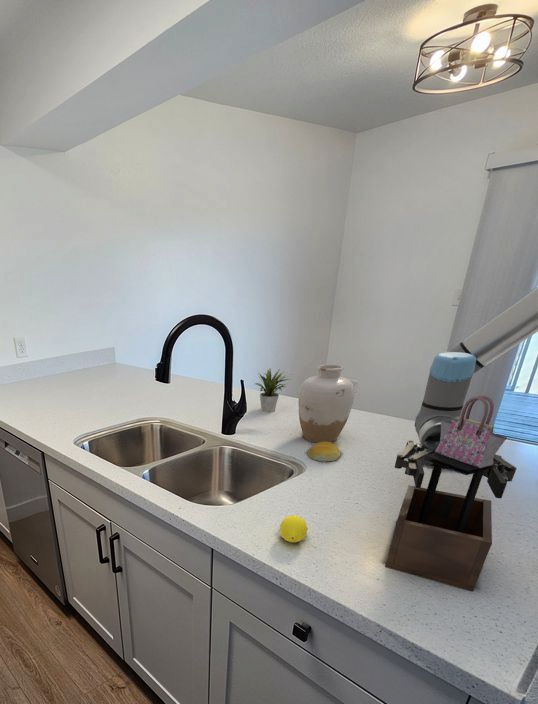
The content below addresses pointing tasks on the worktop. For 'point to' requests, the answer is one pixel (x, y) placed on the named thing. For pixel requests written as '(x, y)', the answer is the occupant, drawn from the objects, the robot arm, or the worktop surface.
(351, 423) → the worktop surface
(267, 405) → the house plant
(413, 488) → the open brown wooden box
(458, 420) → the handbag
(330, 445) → the bread roll
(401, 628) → the worktop surface
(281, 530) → the lemon
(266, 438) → the worktop surface
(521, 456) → the worktop surface
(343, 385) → the vase
